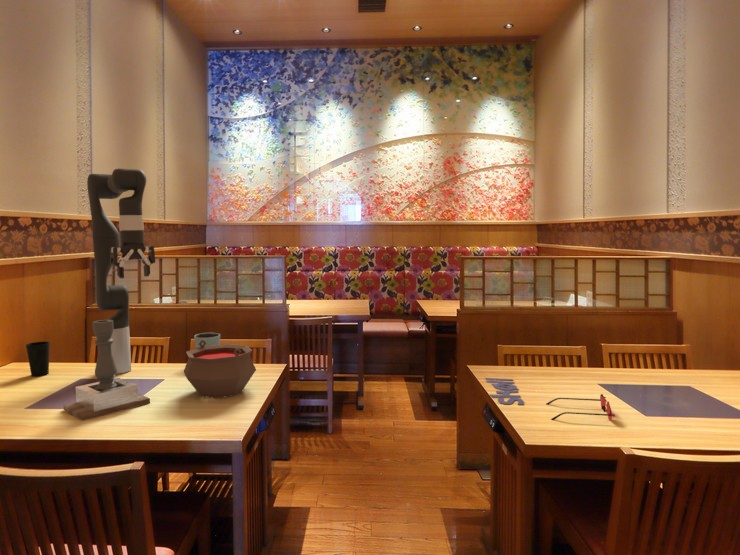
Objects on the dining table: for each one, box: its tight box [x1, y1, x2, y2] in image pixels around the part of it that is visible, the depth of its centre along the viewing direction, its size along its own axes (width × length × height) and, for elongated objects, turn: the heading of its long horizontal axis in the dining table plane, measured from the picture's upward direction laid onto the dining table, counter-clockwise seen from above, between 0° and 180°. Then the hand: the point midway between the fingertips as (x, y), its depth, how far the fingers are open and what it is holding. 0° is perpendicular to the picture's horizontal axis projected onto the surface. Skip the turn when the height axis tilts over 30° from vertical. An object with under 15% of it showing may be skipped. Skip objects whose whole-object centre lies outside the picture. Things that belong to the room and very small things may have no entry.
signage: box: [484, 377, 525, 406], centre depth 176 cm, size 28×1×10 cm
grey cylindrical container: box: [193, 332, 221, 349], centre depth 216 cm, size 10×10×12 cm
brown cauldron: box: [183, 339, 257, 399], centre depth 179 cm, size 24×24×16 cm
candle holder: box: [92, 319, 117, 391], centre depth 164 cm, size 6×6×25 cm
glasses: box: [545, 393, 616, 421], centre depth 153 cm, size 14×16×5 cm
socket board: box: [62, 393, 151, 421], centre depth 165 cm, size 14×20×2 cm
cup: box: [25, 341, 51, 378], centre depth 203 cm, size 8×8×12 cm
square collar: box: [74, 377, 139, 412], centre depth 165 cm, size 13×13×5 cm
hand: (134, 277), depth 182 cm, fingers open, 8 cm apart
